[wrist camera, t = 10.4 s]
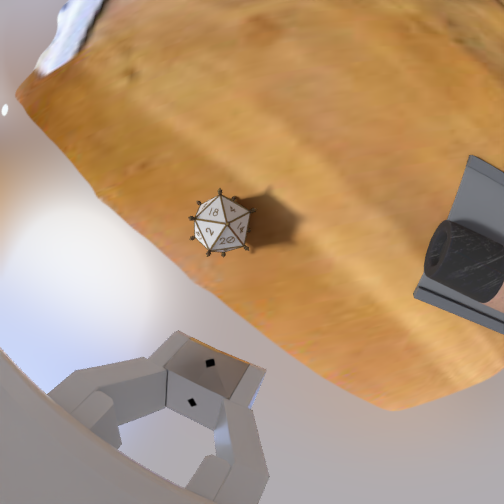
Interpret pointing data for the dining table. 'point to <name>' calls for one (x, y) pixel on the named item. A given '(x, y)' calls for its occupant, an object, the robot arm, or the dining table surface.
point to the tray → (481, 221)
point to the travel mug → (467, 264)
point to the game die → (221, 224)
